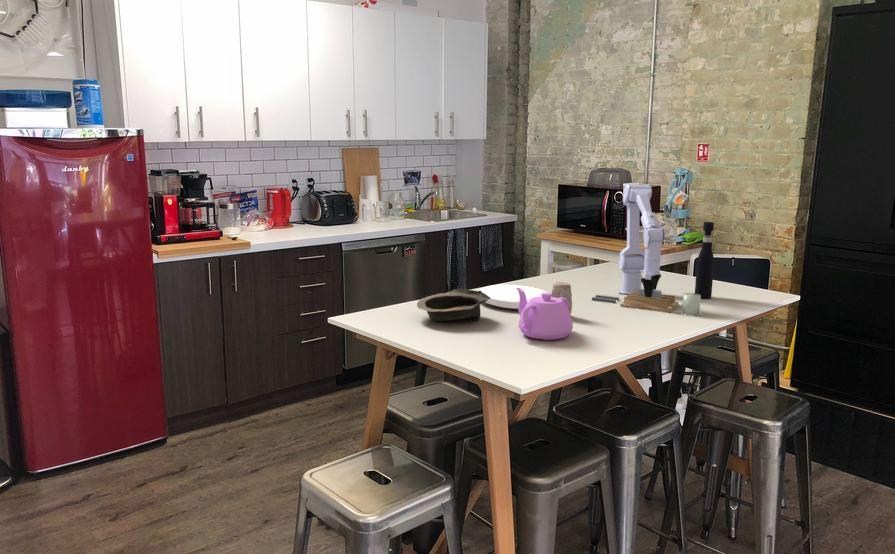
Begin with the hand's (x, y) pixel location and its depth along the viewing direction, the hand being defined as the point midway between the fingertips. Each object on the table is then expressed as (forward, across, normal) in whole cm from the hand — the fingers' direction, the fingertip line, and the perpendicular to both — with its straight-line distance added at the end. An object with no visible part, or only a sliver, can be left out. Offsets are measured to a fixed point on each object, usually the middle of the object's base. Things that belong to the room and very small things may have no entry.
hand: (650, 295), depth 272 cm
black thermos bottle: (+4, -24, +17) cm, 29 cm away
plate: (+4, +21, -46) cm, 51 cm away
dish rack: (+4, 0, 0) cm, 4 cm away
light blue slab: (+3, 0, 0) cm, 3 cm away
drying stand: (+4, -1, -17) cm, 17 cm away
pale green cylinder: (+4, +6, +16) cm, 17 cm away
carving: (+4, +31, -25) cm, 40 cm away
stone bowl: (+4, +53, -58) cm, 79 cm away
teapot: (+4, +56, -25) cm, 62 cm away
